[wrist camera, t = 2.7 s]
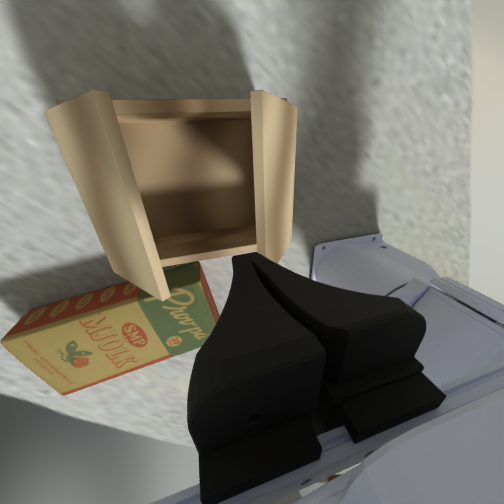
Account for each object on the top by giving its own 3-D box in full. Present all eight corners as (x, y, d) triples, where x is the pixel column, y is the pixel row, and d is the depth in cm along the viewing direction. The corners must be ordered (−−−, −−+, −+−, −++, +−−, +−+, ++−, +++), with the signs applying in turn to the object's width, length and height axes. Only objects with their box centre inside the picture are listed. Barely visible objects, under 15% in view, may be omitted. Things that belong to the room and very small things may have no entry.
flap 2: (289, 107, 13) (297, 106, 12) (285, 241, 17) (291, 242, 17) (250, 91, 8) (262, 89, 8) (258, 278, 12) (265, 280, 12)
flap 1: (109, 91, 7) (92, 89, 7) (170, 296, 11) (162, 301, 11) (56, 112, 10) (43, 111, 10) (121, 268, 14) (113, 272, 14)
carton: (30, 306, 19) (-8, 343, 15) (200, 257, 22) (202, 280, 18) (81, 360, 23) (60, 400, 19) (219, 314, 26) (224, 342, 22)
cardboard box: (261, 110, 17) (286, 98, 12) (264, 226, 21) (283, 246, 17) (96, 114, 14) (56, 100, 10) (140, 244, 19) (126, 273, 15)
